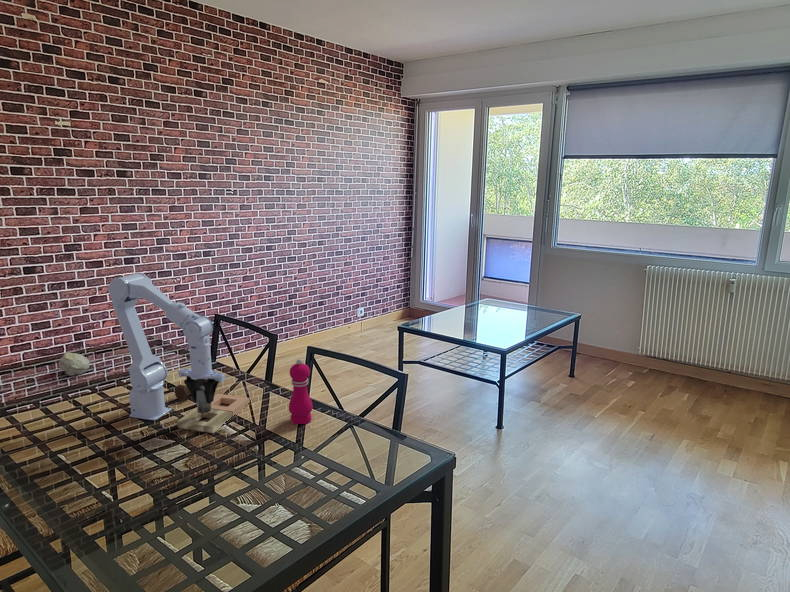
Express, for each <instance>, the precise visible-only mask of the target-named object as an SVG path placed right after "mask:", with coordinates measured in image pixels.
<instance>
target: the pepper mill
mask: <svg viewBox="0 0 790 592" xmlns="http://www.w3.org/2000/svg"><path fill="white" fill-rule="evenodd" d="M295 361H296V363H294V364H292V366H291V367H290V369H289V375H290V378H291V385H292V389H293V391H292V395H291V398H290V401H289V402H288V403H289V404H288V412H289V413H290V422H291V424H293V423H294V424H293V425H295V424H304V425H308V424H310V422H311V421H312V414H311V412H312V411H313V409H314V407H313V405H314V404H313V401H312V399H311V397H310V395H309V392H308V385H309V377H310V374H311V370H310V367H309V366H308V365H307V364H306V363H303V359H302V358H298V359H297V360H295Z"/></svg>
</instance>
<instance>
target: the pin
mask: <svg viewBox="0 0 790 592" xmlns="http://www.w3.org/2000/svg"><path fill="white" fill-rule="evenodd" d="M196 408H197V412H198V413H207V412H210V411H211V403H210V404H209V403H207V398H206V391H205V388H204V386H200V387H197V388H196Z"/></svg>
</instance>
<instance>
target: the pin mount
mask: <svg viewBox="0 0 790 592" xmlns="http://www.w3.org/2000/svg"><path fill="white" fill-rule="evenodd" d="M231 417H232V412H228V411H221V410H215V409H211V411H210V412H207V413H198V412H197V407H195V408H194V409H193V410H192V411H190V412H188V413H187V414H186V415H184V416H183V417H181V418H180V419H179V420H177V421H176V424H177V426H176V427H177V428H179V429H185V430H191V431H197V432H202V433H209V434H215V433H216V432H217V431H219V429H220V428H222V427H223V426H224V425H226V423H225V422H226V421H228V420H229V419H230V418H231ZM203 418H206V419H210V420H208V421H205V420H204V421H203V420H202V419H203ZM232 418H233V417H232ZM230 420H231V419H230ZM230 420H229V421H230ZM229 421H228V422H229ZM223 424H224V425H223ZM222 425H223V426H222ZM221 426H222V427H221Z"/></svg>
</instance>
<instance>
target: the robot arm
mask: <svg viewBox="0 0 790 592" xmlns="http://www.w3.org/2000/svg"><path fill="white" fill-rule="evenodd" d="M107 291H108V293H109V296H110V298H111V303H112V308H113V310H114V314H115V316H116V318H117V321H118V323H119V327H120V329H121V331H122V334H123V337H124V339H125V342H126V344H127V347H128V350H129V352H130V355H131V359H132V360H133V361H132V362H131V364H130V366H129V368H128V373H129V377H130V378H129V381H130V386H132V388H131V390H130V392H129V405H130V407H129V408H130V414H129V416H128V417H130V418H135V419H143V420H148V421H156V420H158V419H160V418H161V417H162V416H165V415H166V414H168V413H169V412H171V411H172V410H173V409H172V407H166V403H165V402H166V401H165V392H164V391H165V390H164V385H165V380H166V379H167V378H168V374H169V372H168V369H167V367H166V366H165V364H164V363H163V362H162V360H161V357H159V356H157V355H155V354H153V353H152V350H151V348H150V345H149V343H148V339H147V337H146V334H145V332H144V328H143V326H142V323H141V320H140V318H139V314H138V313H137V310H136V304H137V303H138V301H139V299H145V300H146V301H148V302H150V303H151V304H152V305H154V306H156V307H157V308H159V309H161V310H162V311H163V312H165V316H166V319H168V320H169V321H171V322H172V323H173V324H175V325H176V326H177V327H178V328H180V329H181V330H182V332H183V335H184V337H185V338H186V340H187V341H186V342H187V345H188V347H189V362H190V368H181V369H179V370H178V373H177V374H178V377H179V378H183V377H184V378H185V377H186V379H184V381H183V383H184V386H187V387H188V389H189V390H190V392H191V396H192V399H193V401H194V402H196V403H197V401H196V388H197V387H200V381H201V379H207V381H206V382H204V383H203V386H204V388H205V391H206V398H207V403H209V404H210V403H211V402H213V400H214V395H216V390H217V388H218V386H219V383H223V382H225V381H226V373H222V372H218V371H216V370H214V369H212V368H213V367H212V355H211V353H212V352H211V340H210V338H211V337H210V334H211V333H213V329H214V324H213V322H212V320H211V319H210V318H209V317H208V316H207V315H200V314H197V313H196V312H194V311H193V310H191V309H190V308H188V307H187V306H186V304H185V303H183V302H174V301H173V300H171V299H170V298H169V297H168V296H167V295H166V294H164V293H163V292H162V291H161V290H160V289H159V288H158V287H156V286H155V285H154V284H153V281H152V279H151V278H150V277H148V276H147V275H146V274H145V273H143V272H136V273H133V274H128V275H125V276H120V277H114V278H112V279H111V281H110V282H109V284H108V287H107Z"/></svg>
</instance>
